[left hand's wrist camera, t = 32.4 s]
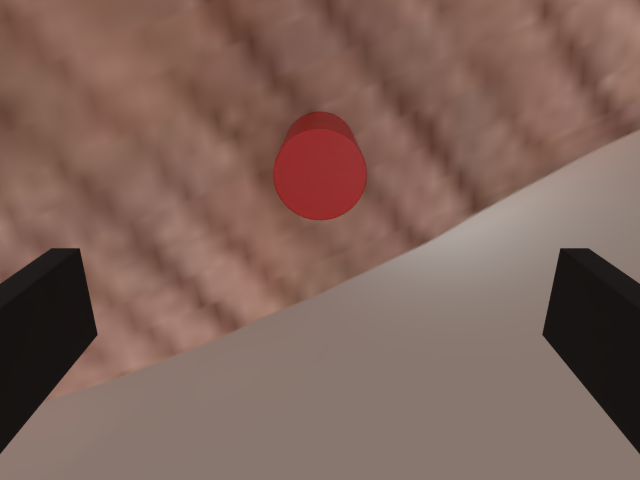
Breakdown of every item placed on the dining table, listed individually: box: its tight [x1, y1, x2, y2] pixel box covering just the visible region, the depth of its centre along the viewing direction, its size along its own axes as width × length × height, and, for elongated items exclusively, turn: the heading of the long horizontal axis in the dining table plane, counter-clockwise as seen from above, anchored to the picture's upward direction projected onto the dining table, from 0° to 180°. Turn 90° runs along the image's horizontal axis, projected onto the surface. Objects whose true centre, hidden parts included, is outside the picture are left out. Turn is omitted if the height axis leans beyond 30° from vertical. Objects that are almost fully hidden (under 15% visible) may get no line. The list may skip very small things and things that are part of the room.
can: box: [273, 112, 367, 220], centre depth 30 cm, size 5×5×9 cm
